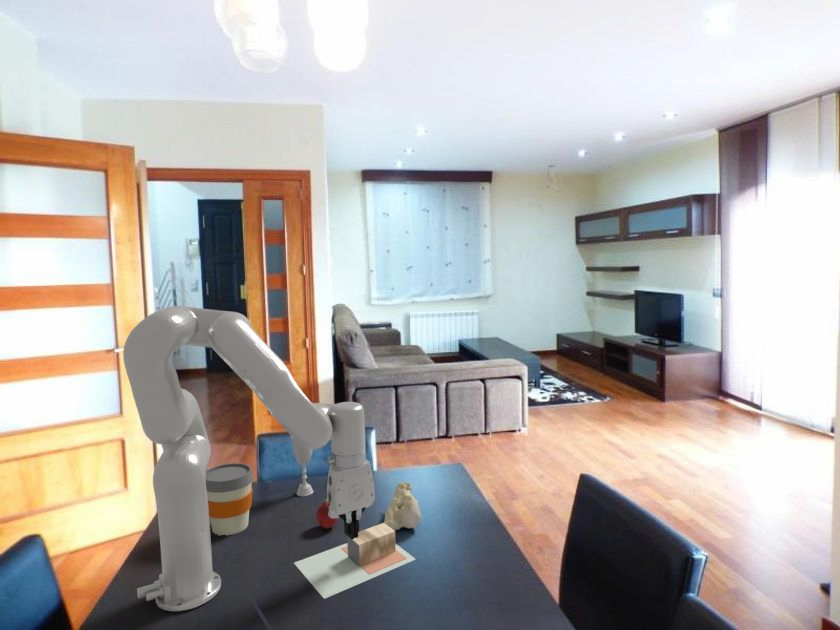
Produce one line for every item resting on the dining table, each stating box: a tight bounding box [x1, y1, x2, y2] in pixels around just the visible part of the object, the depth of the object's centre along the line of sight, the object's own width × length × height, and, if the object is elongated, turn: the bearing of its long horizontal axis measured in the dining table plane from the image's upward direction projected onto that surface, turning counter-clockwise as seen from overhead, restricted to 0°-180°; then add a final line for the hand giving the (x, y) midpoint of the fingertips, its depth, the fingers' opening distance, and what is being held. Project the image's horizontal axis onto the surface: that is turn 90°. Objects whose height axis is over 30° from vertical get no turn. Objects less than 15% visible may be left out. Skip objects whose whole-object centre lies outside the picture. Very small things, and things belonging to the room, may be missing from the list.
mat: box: [293, 542, 417, 599], centre depth 118 cm, size 23×16×1 cm
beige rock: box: [383, 481, 422, 532], centre depth 135 cm, size 15×7×15 cm
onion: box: [315, 498, 339, 529], centre depth 133 cm, size 6×6×8 cm
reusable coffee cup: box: [206, 462, 254, 536], centre depth 135 cm, size 13×13×15 cm
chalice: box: [290, 435, 314, 497], centre depth 154 cm, size 7×7×18 cm
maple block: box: [346, 522, 396, 566], centre depth 120 cm, size 5×5×10 cm
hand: (351, 535), depth 117 cm, fingers closed
